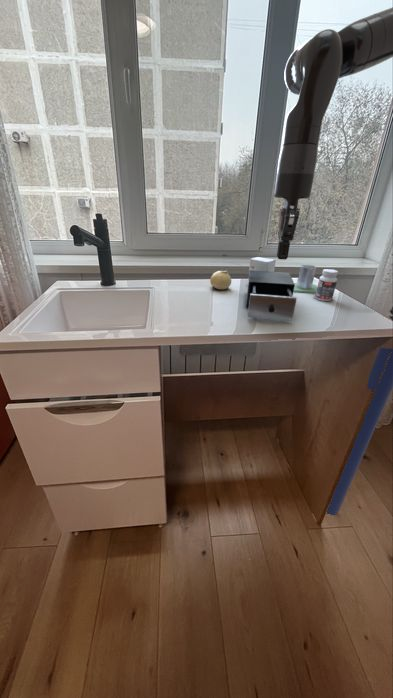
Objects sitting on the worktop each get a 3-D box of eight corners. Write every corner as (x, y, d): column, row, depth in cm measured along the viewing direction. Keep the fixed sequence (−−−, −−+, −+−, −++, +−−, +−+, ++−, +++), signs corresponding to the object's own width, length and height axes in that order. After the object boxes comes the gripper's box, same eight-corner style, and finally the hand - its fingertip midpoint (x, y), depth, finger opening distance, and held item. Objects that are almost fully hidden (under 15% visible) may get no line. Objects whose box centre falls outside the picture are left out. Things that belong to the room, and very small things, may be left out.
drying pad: (314, 286, 115) (315, 284, 114) (319, 293, 106) (320, 292, 106) (289, 284, 116) (289, 282, 116) (292, 291, 108) (292, 290, 107)
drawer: (292, 323, 79) (297, 299, 76) (247, 319, 81) (250, 296, 78) (287, 305, 92) (290, 284, 89) (248, 302, 94) (250, 281, 90)
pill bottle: (320, 302, 98) (327, 272, 93) (311, 296, 103) (317, 268, 98) (335, 301, 99) (343, 272, 94) (325, 295, 104) (332, 268, 99)
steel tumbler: (310, 285, 113) (314, 264, 109) (312, 289, 108) (317, 268, 104) (295, 284, 114) (299, 264, 110) (297, 288, 109) (301, 267, 105)
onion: (213, 291, 105) (214, 272, 102) (207, 285, 112) (208, 267, 109) (233, 290, 107) (235, 271, 104) (226, 284, 114) (228, 266, 110)
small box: (272, 287, 112) (276, 259, 107) (264, 290, 108) (268, 261, 103) (255, 283, 117) (258, 256, 112) (247, 285, 113) (250, 258, 108)
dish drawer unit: (289, 311, 90) (294, 284, 85) (246, 308, 92) (248, 281, 87) (285, 296, 102) (289, 272, 98) (246, 293, 104) (249, 270, 100)
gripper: (321, 170, 53) (302, 265, 61) (308, 174, 65) (294, 253, 73) (279, 169, 54) (266, 263, 62) (274, 174, 66) (264, 252, 74)
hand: (281, 257), depth 68 cm, fingers closed
